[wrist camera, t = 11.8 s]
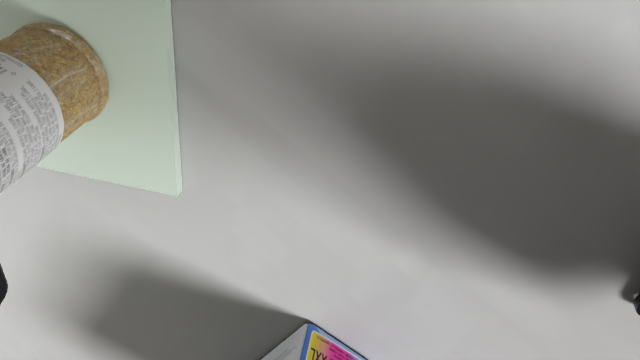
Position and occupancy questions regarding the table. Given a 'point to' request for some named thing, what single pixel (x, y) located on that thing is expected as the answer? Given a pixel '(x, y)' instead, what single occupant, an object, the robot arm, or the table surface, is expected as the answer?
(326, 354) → the ink cartridge box
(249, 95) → the table surface
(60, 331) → the table surface
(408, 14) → the table surface
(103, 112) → the pad
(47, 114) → the sprinkles bottle
